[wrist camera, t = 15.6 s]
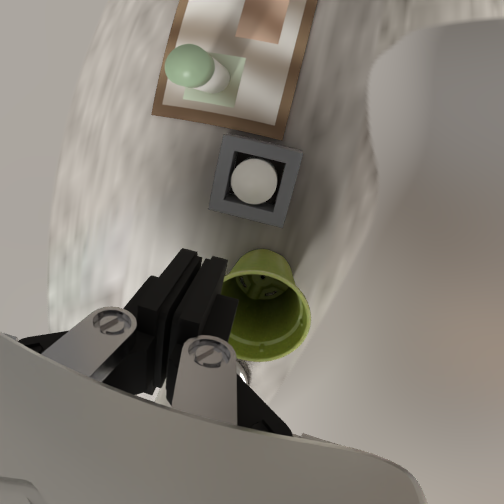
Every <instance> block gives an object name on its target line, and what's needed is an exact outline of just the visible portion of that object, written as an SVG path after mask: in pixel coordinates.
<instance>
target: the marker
mask: <svg viewBox="0 0 504 504" xmlns="http://www.w3.org/2000/svg"><path fill="white" fill-rule="evenodd" d="M165 73H166V75H167V77H168V79H169V80H170V81H171V82H173V83H175V84H177V85H180V86H184V87H188V88H193V89H197V90H200V91H203V92H207V93H211V94H215V93H219V92H221V91H223V90H224V89H225V88H226V87H227V86H228V84H229V81H230V74H229V72H228V70H227V69H226V68H225V67H224V66H223V65H222V64H220V63H219V62H218V61H217V60H215V59H214V58H213V57H211V55H210V54H209V53H207V52H206V51H205V50H203V49H202V48H201V47H199V46H197V45H194V44H184V45H180V46H178V47H176V48H175V49H174V50H172V51H171V52H170V54H169V55H168V57H167V59H166V61H165Z"/></svg>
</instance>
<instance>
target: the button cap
mask: <svg viewBox="0 0 504 504" xmlns="http://www.w3.org/2000/svg"><path fill="white" fill-rule="evenodd" d="M277 180H278V175H277V171H276V168H275V167H274V165H273V164H272V163H271V162H270V161H269V160H267V159H265V158H262V157H250V158H247V159H245V160H244V161H243V162H241V163H240V164H239V165H238V166H237V167H236V168H235V170H234V171H233V174H232V177H231V186H232V189H233V192H234V193H235V195H236V196H237V197H238V198H239V199H240V200H242V201H243V202H245V203H248V204H260V203H263V202H265V201H267V200H268V199H270V198H271V197H272V195H273V194H274V192H275V190H276V186H277Z"/></svg>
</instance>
